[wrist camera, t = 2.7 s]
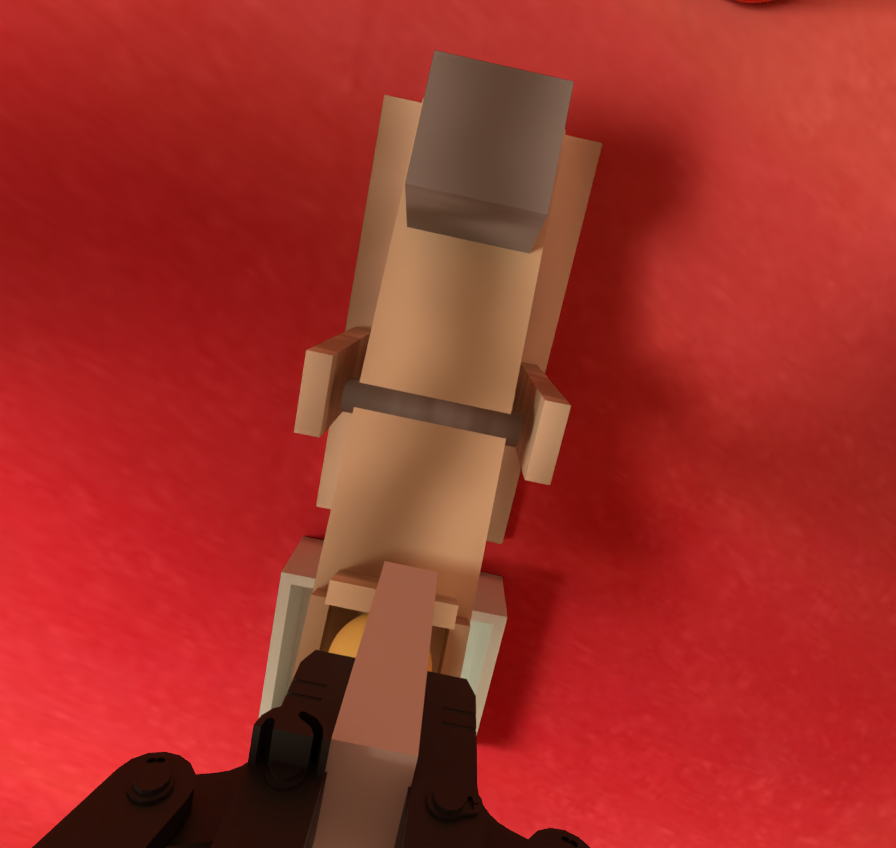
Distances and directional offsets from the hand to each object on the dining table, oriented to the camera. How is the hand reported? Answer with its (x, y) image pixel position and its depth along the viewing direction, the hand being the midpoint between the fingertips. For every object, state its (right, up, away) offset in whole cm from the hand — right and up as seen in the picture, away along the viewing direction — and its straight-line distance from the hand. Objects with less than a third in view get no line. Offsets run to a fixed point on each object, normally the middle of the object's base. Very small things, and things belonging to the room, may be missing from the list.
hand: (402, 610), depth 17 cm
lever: (+1, +6, +7) cm, 9 cm away
